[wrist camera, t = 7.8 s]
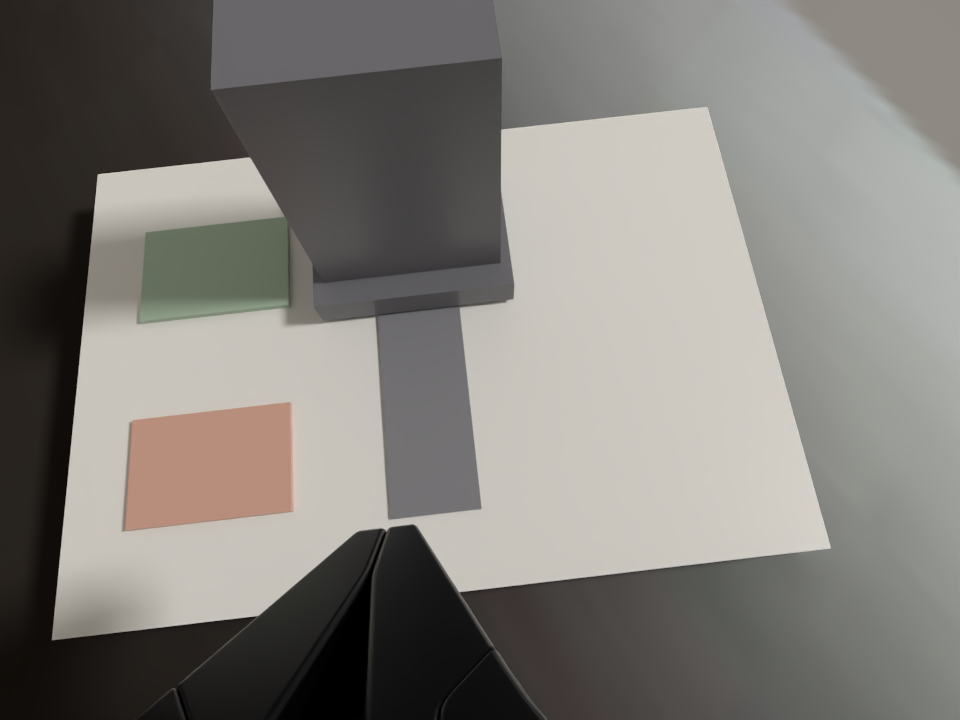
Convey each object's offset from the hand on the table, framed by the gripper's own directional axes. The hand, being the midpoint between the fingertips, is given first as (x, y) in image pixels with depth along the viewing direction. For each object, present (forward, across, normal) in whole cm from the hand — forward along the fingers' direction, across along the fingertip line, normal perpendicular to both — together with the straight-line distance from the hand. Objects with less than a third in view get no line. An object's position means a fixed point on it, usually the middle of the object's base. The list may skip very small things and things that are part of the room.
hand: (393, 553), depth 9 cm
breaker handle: (+12, 0, +1) cm, 12 cm away
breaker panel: (+12, 0, -2) cm, 12 cm away
